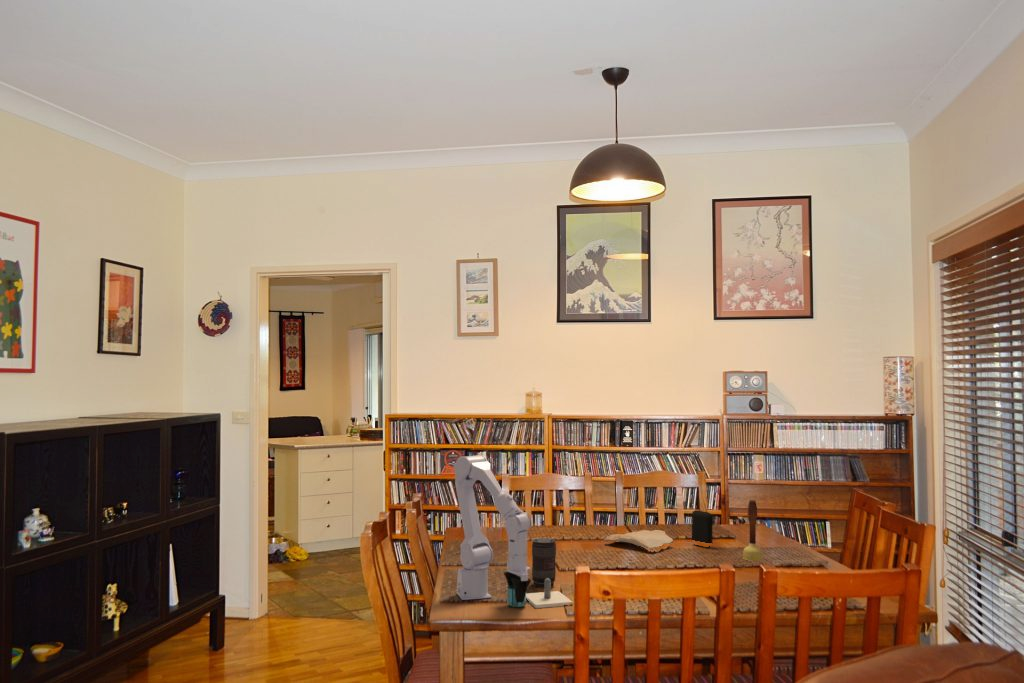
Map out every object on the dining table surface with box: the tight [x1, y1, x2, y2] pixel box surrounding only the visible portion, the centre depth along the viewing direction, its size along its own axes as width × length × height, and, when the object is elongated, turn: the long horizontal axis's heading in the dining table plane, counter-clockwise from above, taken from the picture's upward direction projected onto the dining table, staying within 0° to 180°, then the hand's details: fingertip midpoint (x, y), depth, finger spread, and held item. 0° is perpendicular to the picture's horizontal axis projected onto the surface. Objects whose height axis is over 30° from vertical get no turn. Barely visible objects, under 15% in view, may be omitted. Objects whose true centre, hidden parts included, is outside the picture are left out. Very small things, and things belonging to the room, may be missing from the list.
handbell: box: [742, 499, 763, 561], centre depth 277 cm, size 12×12×25 cm
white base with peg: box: [526, 578, 574, 609], centre depth 232 cm, size 12×12×7 cm
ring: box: [506, 585, 527, 608], centre depth 225 cm, size 6×6×5 cm
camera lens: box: [531, 537, 557, 589], centre depth 250 cm, size 8×8×15 cm
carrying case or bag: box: [691, 509, 715, 544], centre depth 312 cm, size 11×3×15 cm, turn 41°
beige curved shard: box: [603, 529, 674, 548], centre depth 311 cm, size 24×8×20 cm
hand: (516, 599), depth 225 cm, fingers closed on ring, 6 cm apart
